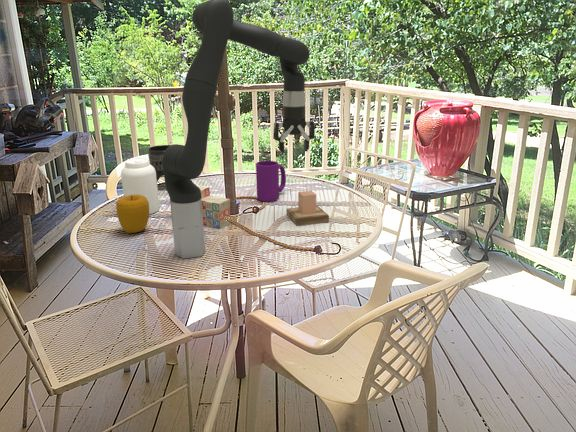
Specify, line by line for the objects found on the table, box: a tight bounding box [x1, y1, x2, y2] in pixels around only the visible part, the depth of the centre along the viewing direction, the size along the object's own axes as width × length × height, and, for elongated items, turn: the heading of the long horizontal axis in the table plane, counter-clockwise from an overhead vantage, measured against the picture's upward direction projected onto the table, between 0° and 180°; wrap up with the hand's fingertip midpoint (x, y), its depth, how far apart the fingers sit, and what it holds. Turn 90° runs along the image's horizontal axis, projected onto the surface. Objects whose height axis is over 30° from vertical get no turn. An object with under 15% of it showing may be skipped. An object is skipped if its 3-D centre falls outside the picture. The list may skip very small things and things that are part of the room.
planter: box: [147, 144, 171, 183], centre depth 217 cm, size 13×13×18 cm
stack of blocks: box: [195, 184, 232, 229], centre depth 178 cm, size 21×6×12 cm, turn 58°
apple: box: [115, 195, 150, 234], centre depth 169 cm, size 11×11×13 cm
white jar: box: [120, 157, 160, 215], centre depth 187 cm, size 12×12×20 cm
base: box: [286, 204, 330, 227], centre depth 180 cm, size 12×12×3 cm
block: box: [297, 190, 317, 215], centre depth 178 cm, size 5×5×7 cm
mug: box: [255, 160, 287, 203], centre depth 203 cm, size 9×16×15 cm, turn 142°
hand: (294, 151), depth 174 cm, fingers open, 8 cm apart
